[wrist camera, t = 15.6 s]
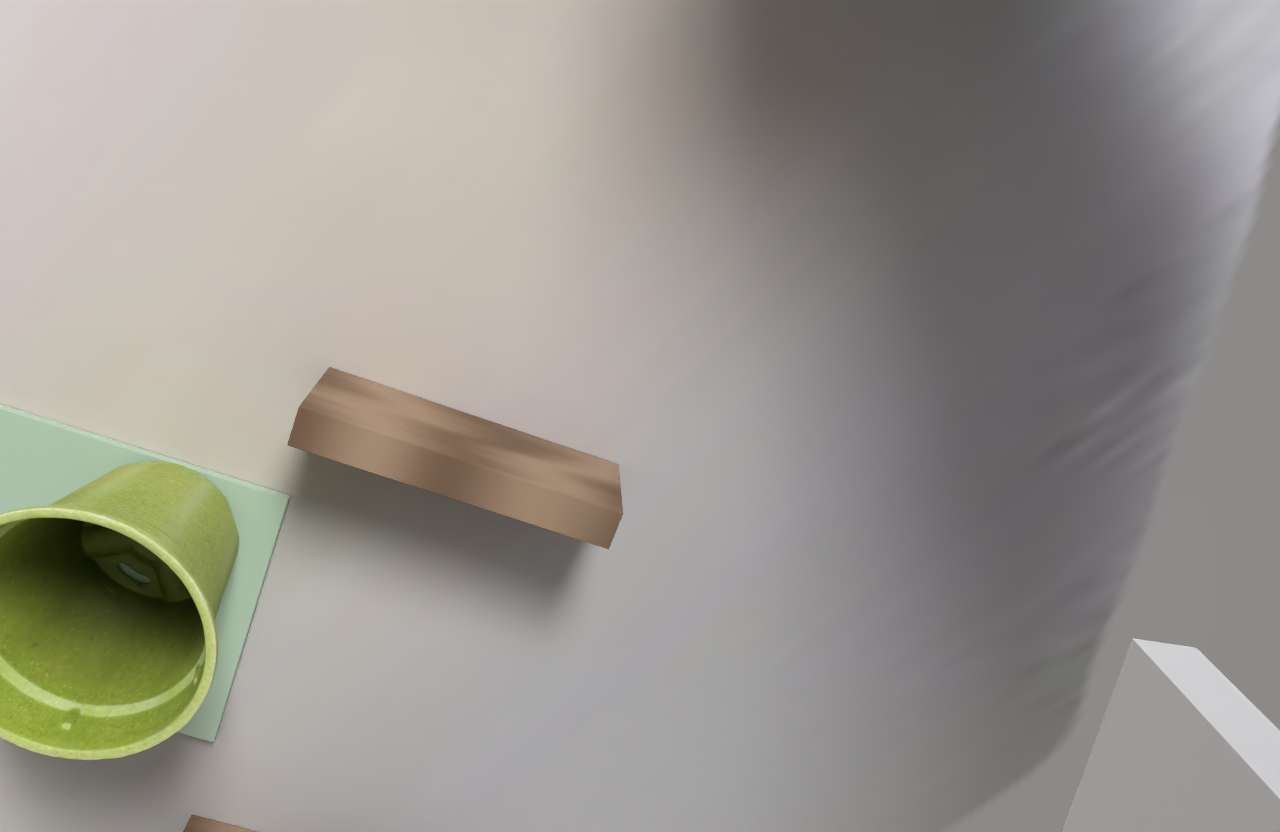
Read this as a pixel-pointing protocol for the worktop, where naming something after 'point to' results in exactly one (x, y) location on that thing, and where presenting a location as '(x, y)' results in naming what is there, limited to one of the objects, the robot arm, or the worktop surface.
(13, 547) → the plant pot
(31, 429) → the pad
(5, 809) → the worktop surface
